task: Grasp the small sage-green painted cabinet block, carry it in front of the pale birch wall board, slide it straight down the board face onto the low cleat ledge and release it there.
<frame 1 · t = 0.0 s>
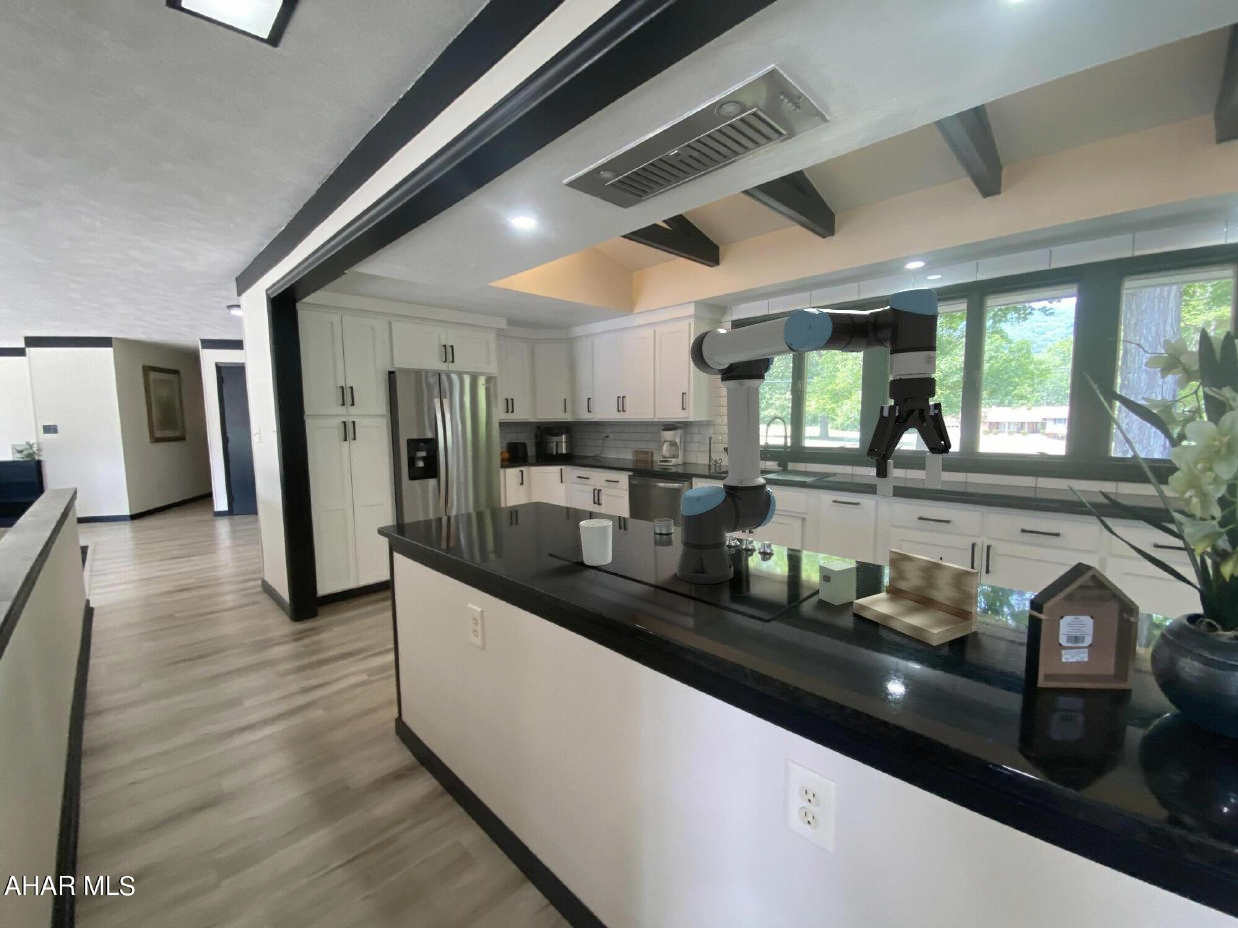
hand: (909, 491, 97), 28 cm above the countertop, fingers open, 13 cm apart
game die: (937, 593, 120), on the countertop
cleat board: (914, 620, 106), on the countertop
cabinet block: (837, 599, 119), on the countertop
candle holder: (597, 562, 155), on the countertop
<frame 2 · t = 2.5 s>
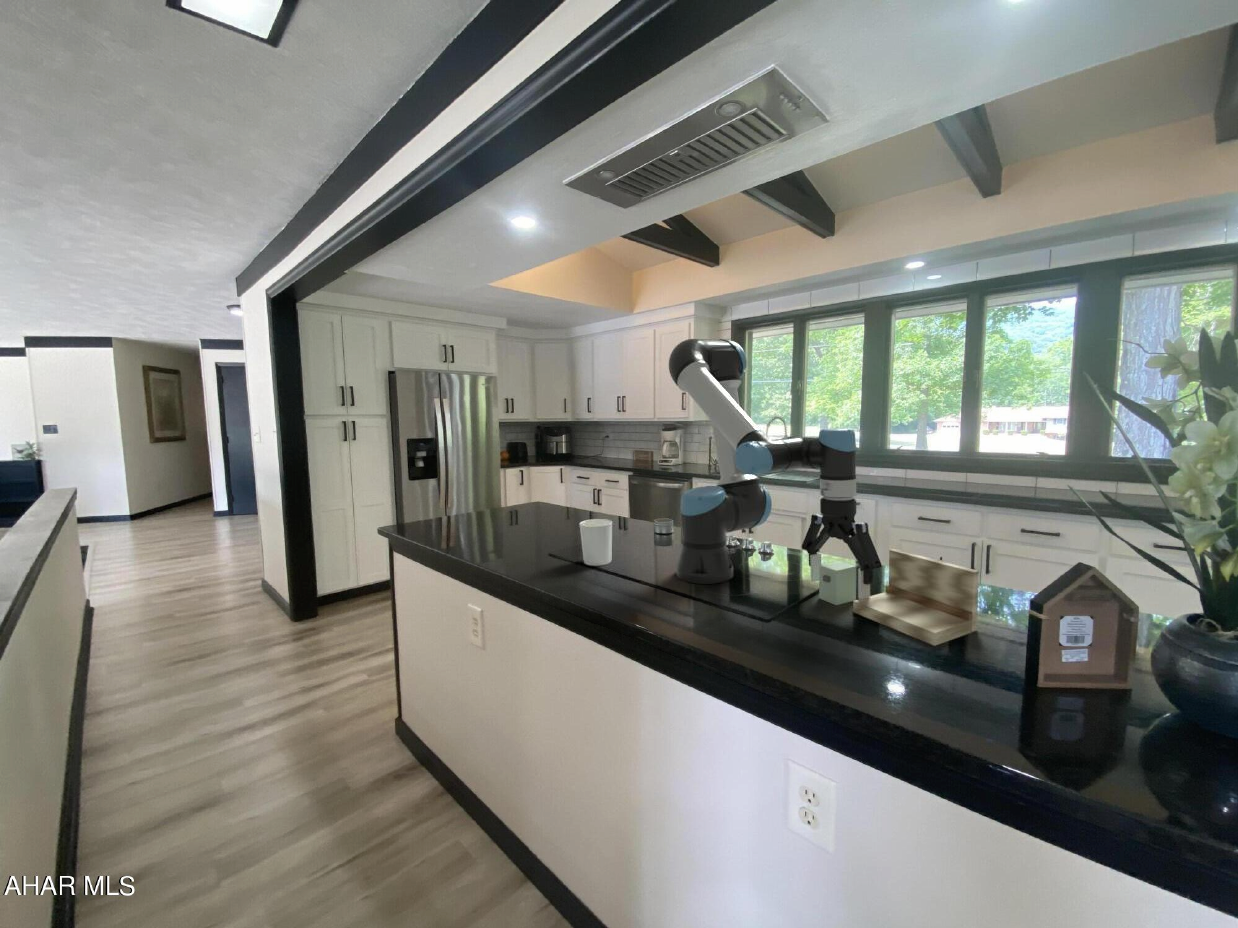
hand: (839, 588, 118), 3 cm above the countertop, fingers open, 13 cm apart
nothing on the countertop moved.
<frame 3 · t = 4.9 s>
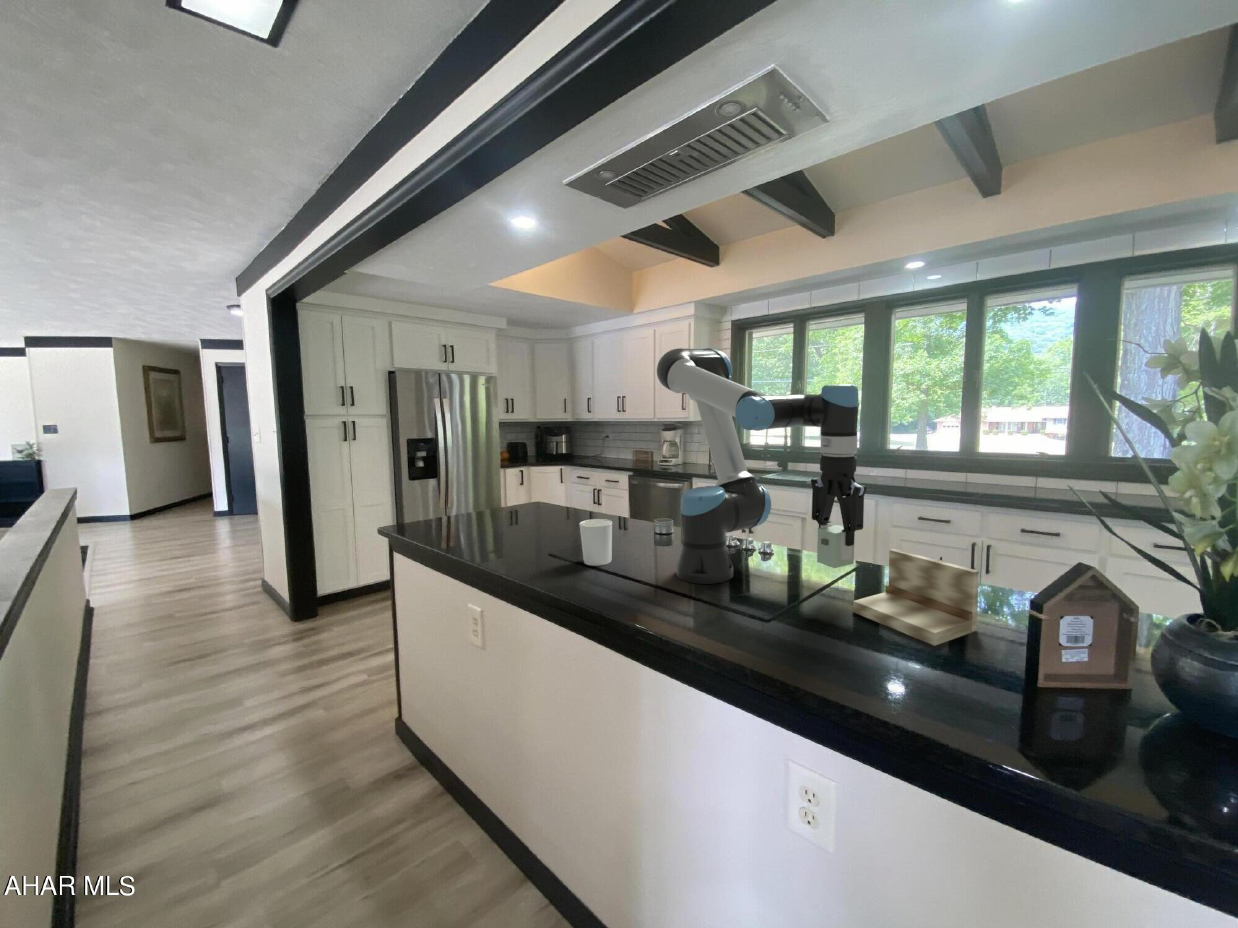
hand: (835, 555, 118), 10 cm above the countertop, fingers closed on cabinet block, 5 cm apart
cabinet block: (835, 562, 118), point 8 cm above the countertop, touching gripper
everything else where it was.
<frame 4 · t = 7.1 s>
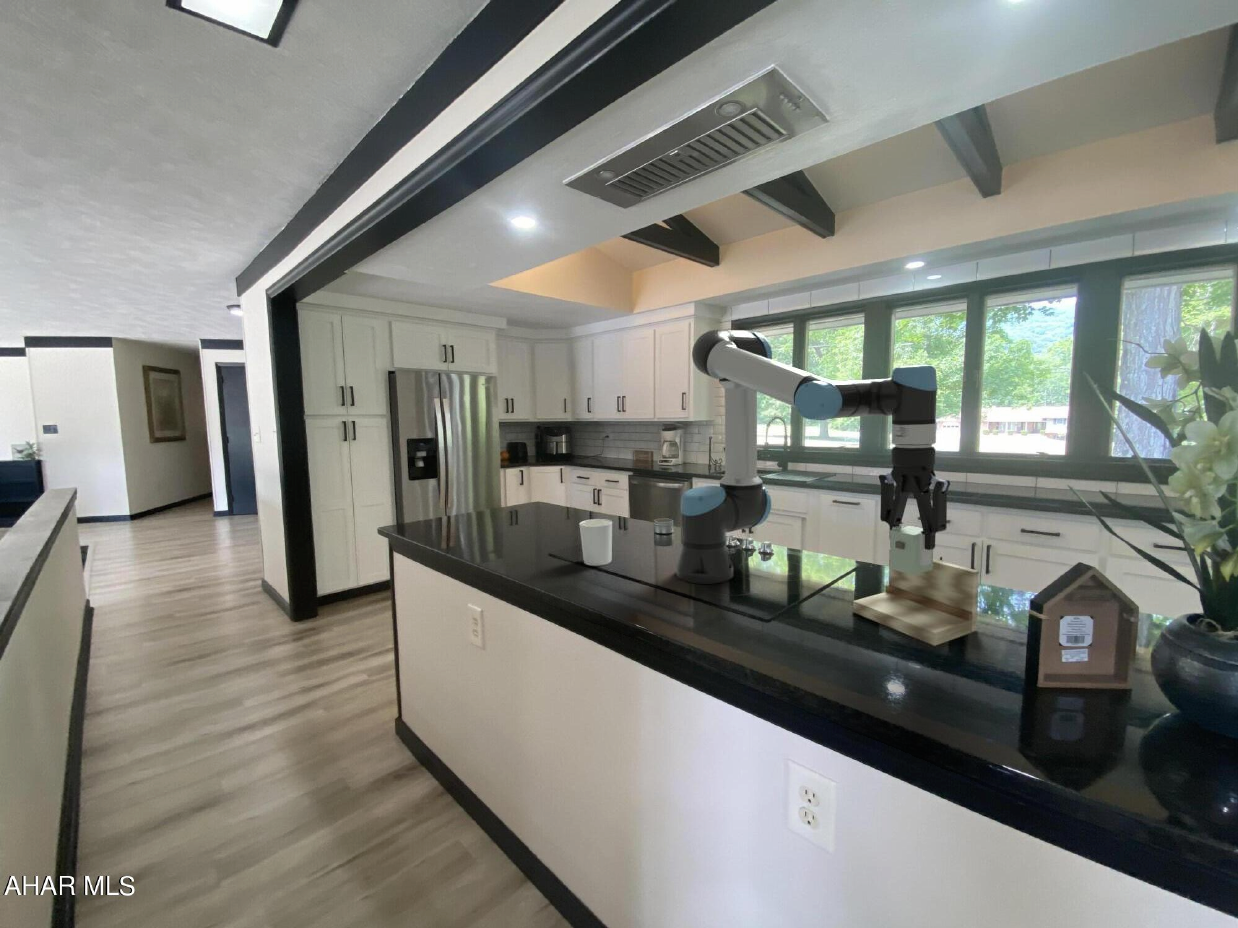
hand: (911, 560, 104), 13 cm above the countertop, fingers closed on cabinet block, 5 cm apart
cabinet block: (911, 569, 104), point 11 cm above the countertop, touching gripper
everything else where it was.
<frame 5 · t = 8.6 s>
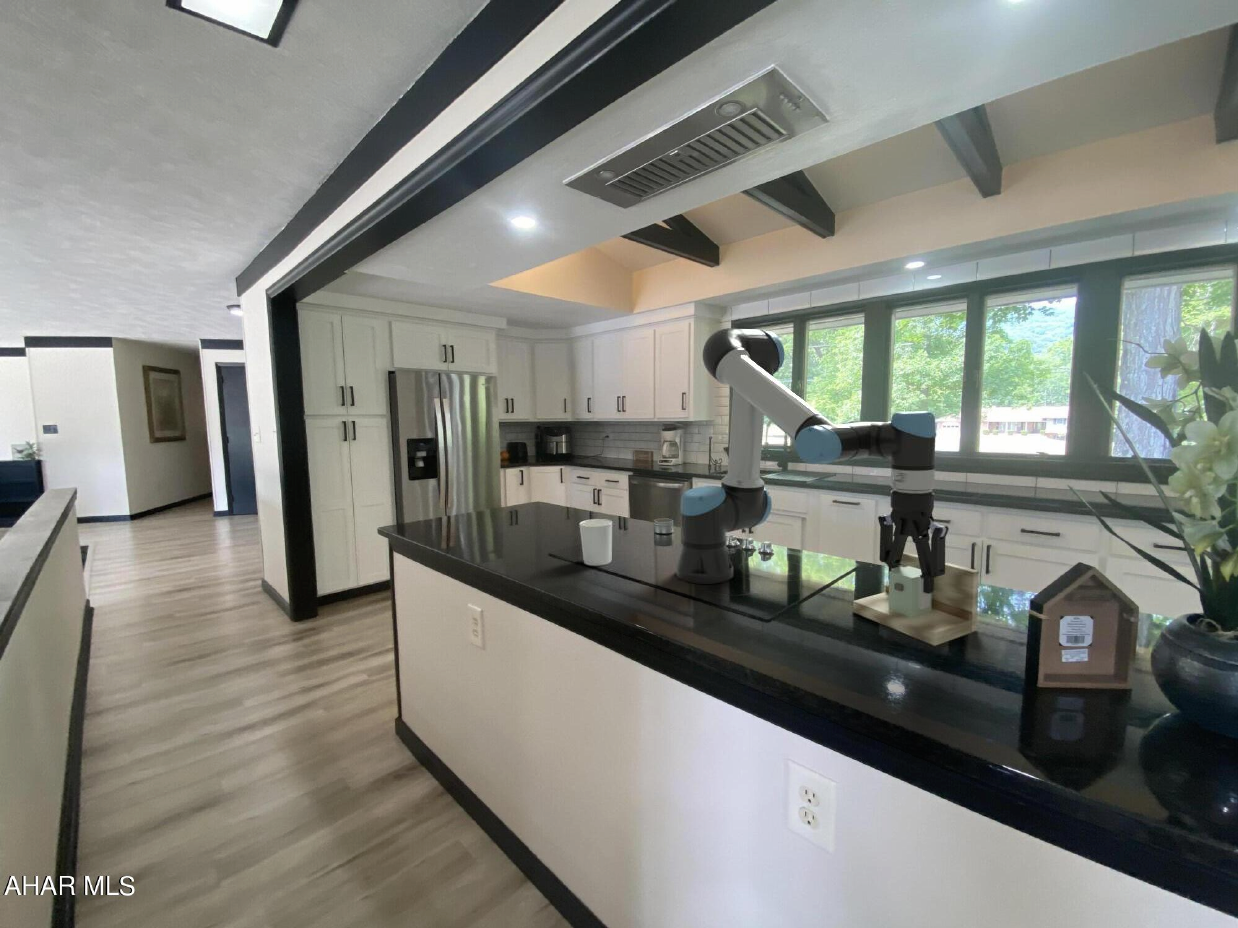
hand: (909, 602, 105), 4 cm above the countertop, fingers closed on cabinet block, 5 cm apart
cabinet block: (909, 609, 105), point 2 cm above the countertop, touching cleat board, gripper
everything else where it was.
when the fingers open (4 cm above the countertop, at t = 9.3 s): cabinet block stays where it is, resting on cleat board.
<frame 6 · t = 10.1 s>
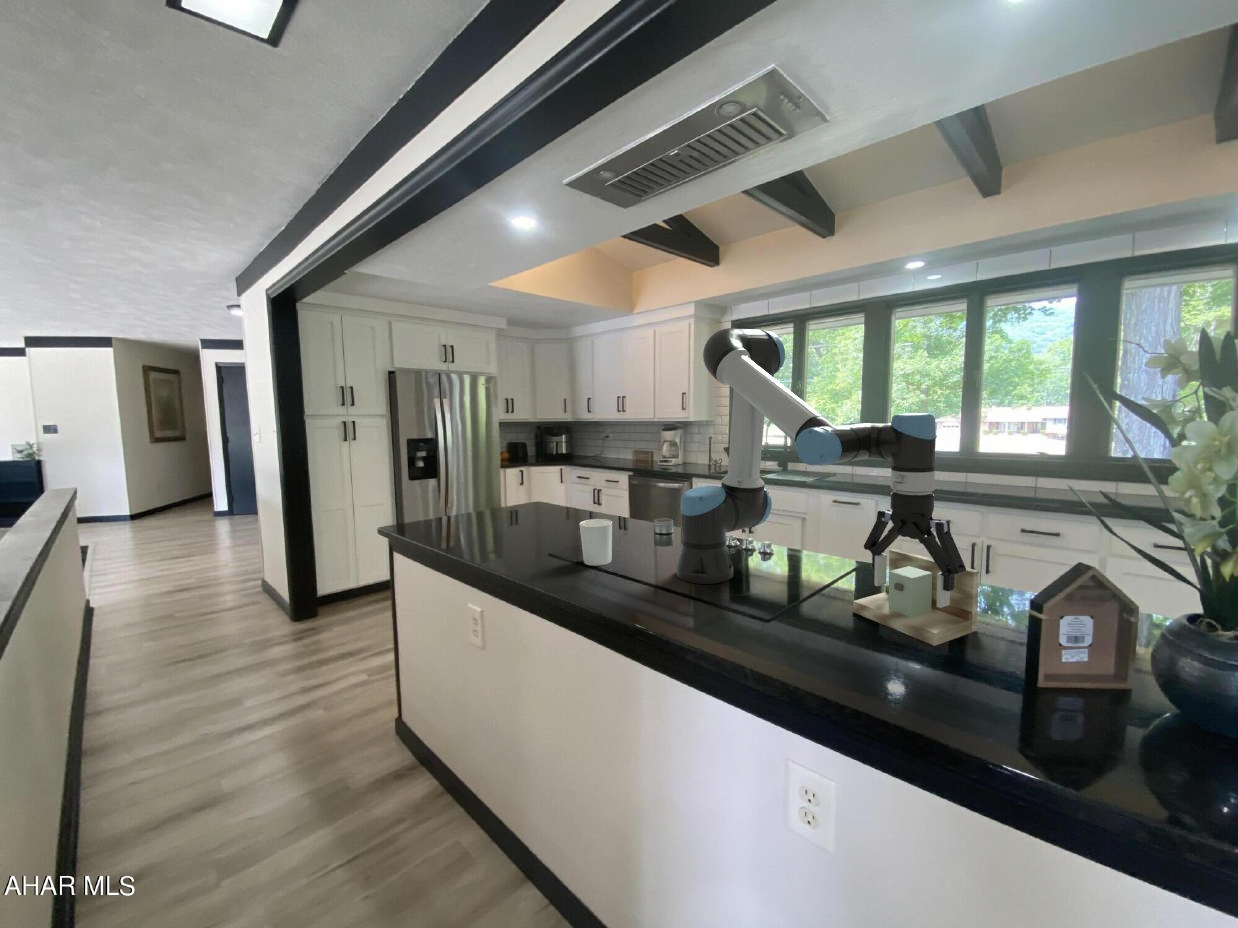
hand: (909, 594, 105), 6 cm above the countertop, fingers open, 13 cm apart
cabinet block: (909, 609, 105), point 2 cm above the countertop, touching cleat board
everything else where it was.
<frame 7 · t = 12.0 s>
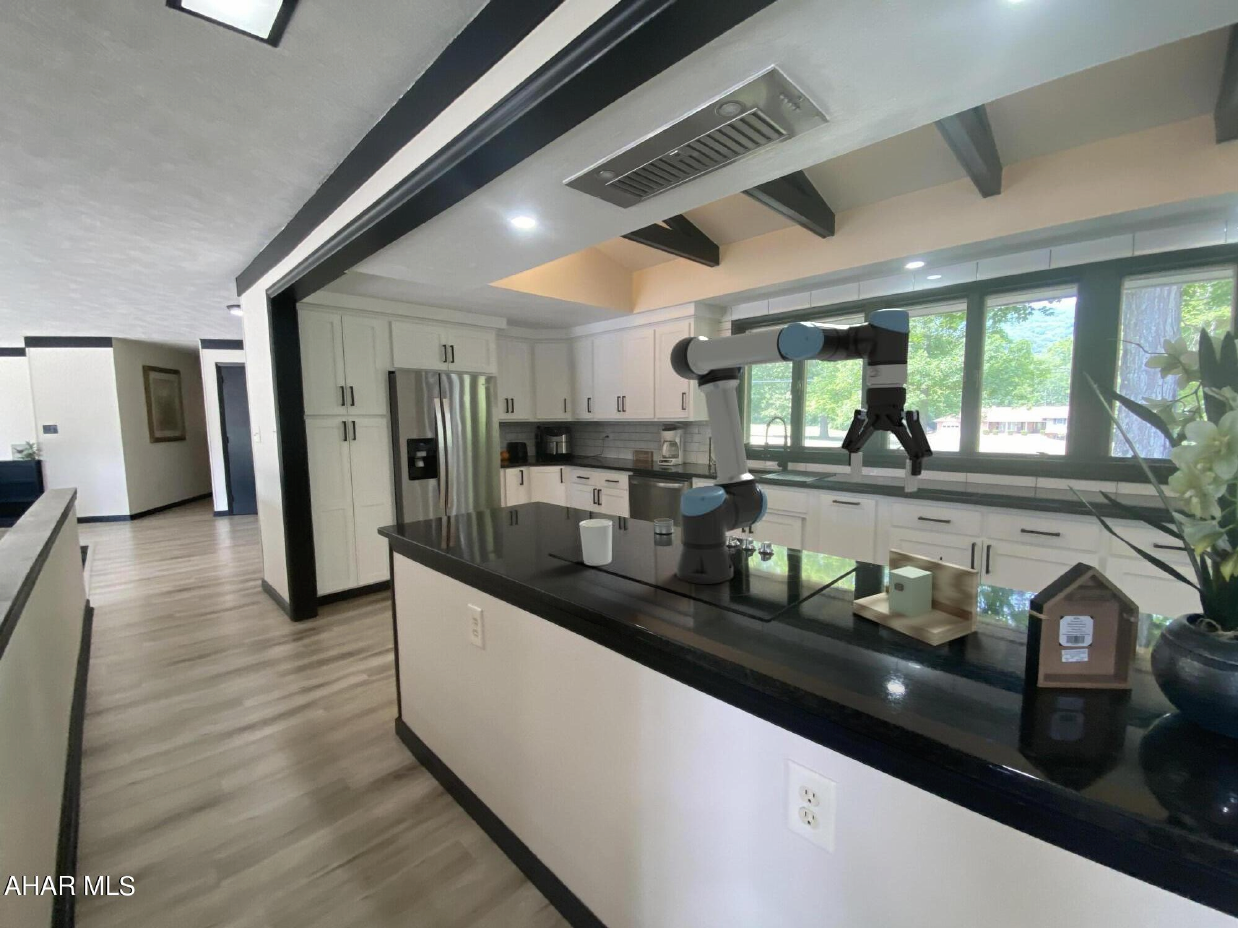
hand: (881, 486, 111), 27 cm above the countertop, fingers open, 13 cm apart
nothing on the countertop moved.
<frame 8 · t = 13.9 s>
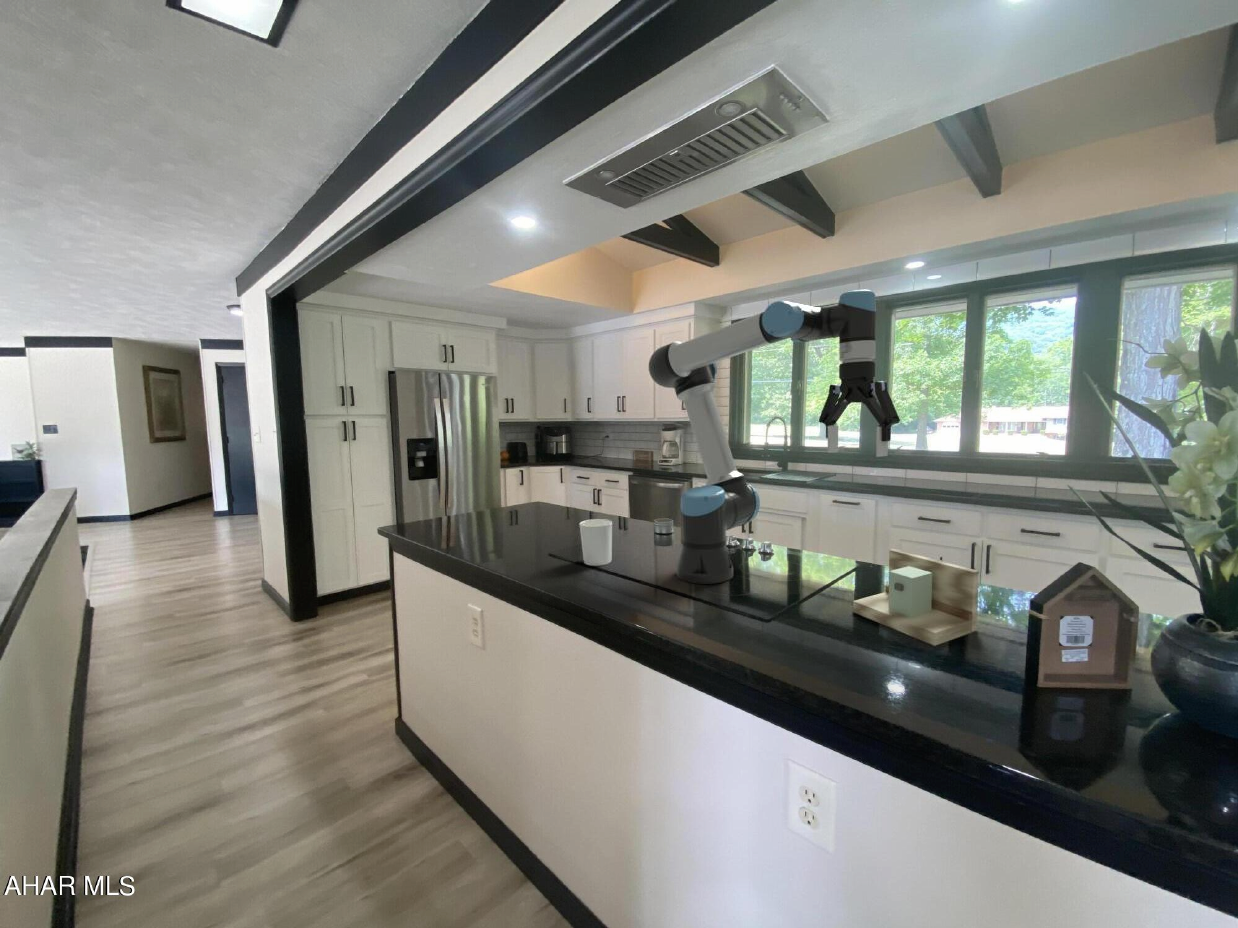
hand: (856, 454, 120), 33 cm above the countertop, fingers open, 13 cm apart
nothing on the countertop moved.
at the end: cabinet block inside the target area (0.2 cm from its centre), point 2.5 cm above the countertop; cabinet block tilted 0°; the gripper is holding nothing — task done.
